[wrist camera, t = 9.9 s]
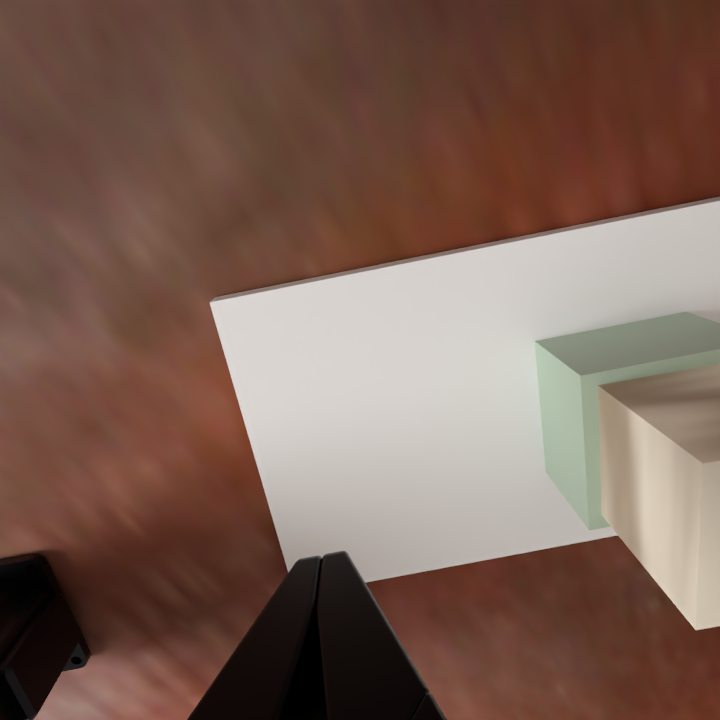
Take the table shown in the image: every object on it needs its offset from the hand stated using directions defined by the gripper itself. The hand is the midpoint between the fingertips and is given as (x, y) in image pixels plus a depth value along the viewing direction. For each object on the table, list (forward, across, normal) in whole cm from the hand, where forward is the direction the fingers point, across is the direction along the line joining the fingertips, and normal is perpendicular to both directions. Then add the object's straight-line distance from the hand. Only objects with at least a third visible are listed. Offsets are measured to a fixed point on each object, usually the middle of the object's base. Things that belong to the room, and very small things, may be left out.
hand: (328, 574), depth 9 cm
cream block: (+8, -11, +4) cm, 14 cm away
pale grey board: (+13, -6, +4) cm, 15 cm away
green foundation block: (+12, -11, +4) cm, 17 cm away
